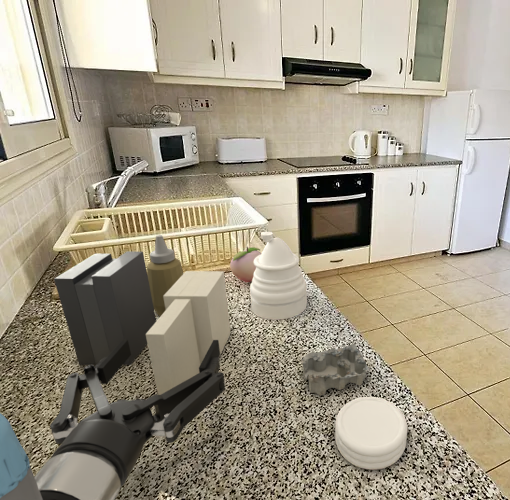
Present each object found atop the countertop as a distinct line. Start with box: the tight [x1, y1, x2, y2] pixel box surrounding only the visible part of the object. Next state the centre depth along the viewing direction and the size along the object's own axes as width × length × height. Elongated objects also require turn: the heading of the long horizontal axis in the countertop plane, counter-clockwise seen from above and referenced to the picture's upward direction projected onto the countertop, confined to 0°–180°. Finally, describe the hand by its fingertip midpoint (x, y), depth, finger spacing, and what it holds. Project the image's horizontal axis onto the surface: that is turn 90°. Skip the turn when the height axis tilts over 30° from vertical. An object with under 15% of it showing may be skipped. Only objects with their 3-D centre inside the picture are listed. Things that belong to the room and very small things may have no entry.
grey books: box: [53, 250, 157, 366], centre depth 68 cm, size 9×11×18 cm
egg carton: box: [300, 343, 371, 396], centre depth 64 cm, size 11×8×4 cm
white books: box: [163, 270, 232, 365], centre depth 69 cm, size 7×10×14 cm
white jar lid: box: [334, 396, 408, 471], centre depth 52 cm, size 10×10×4 cm
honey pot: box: [249, 231, 308, 321], centre depth 84 cm, size 13×13×18 cm
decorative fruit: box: [229, 245, 262, 283], centre depth 97 cm, size 9×8×10 cm
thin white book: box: [146, 299, 200, 395], centre depth 59 cm, size 2×10×14 cm, turn 2°
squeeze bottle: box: [146, 234, 185, 318], centre depth 80 cm, size 8×8×18 cm
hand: (172, 347), depth 57 cm, fingers open, 13 cm apart
